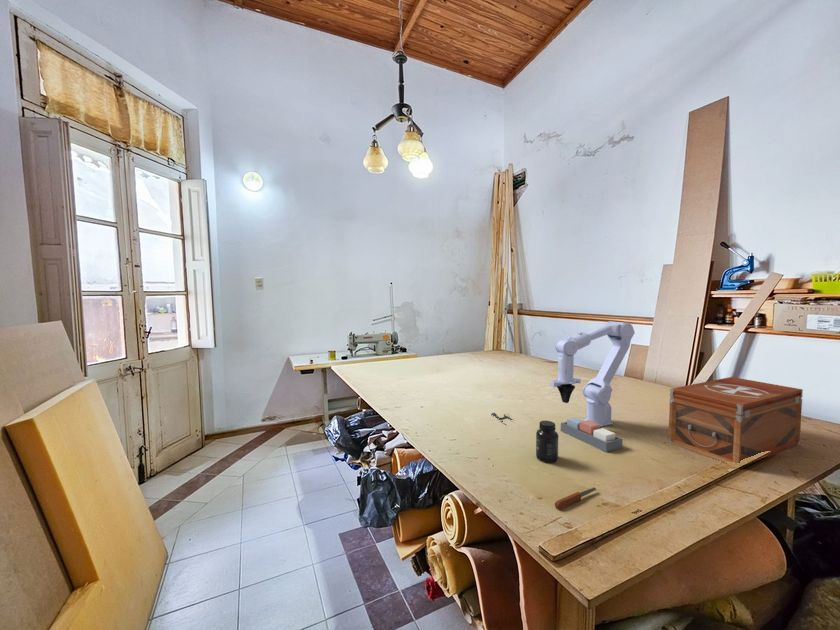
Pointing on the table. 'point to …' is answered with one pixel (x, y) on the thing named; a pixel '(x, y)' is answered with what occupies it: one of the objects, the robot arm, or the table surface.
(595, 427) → the brick key
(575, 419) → the light blue square block
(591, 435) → the key housing
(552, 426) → the supplement bottle
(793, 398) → the wooden box
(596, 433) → the ivory key
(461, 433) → the table surface
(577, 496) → the chisel
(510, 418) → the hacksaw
